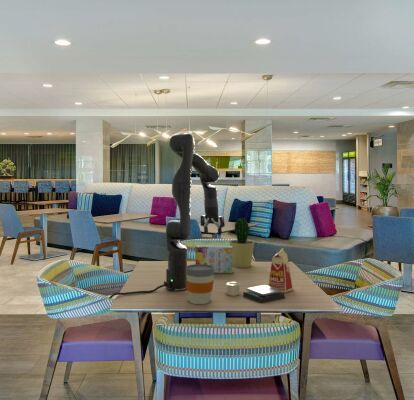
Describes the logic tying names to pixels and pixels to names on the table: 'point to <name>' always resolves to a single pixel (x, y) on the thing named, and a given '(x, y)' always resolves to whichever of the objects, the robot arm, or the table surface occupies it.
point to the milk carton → (280, 272)
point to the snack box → (215, 257)
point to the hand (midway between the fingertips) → (213, 234)
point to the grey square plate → (264, 290)
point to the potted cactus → (242, 245)
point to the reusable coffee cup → (199, 283)
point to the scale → (263, 298)
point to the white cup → (233, 288)
